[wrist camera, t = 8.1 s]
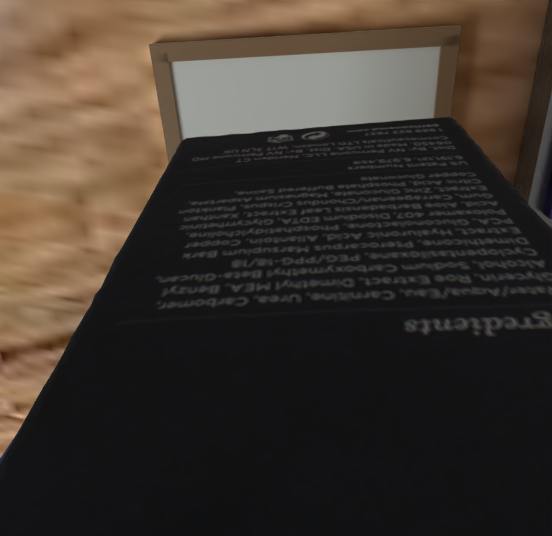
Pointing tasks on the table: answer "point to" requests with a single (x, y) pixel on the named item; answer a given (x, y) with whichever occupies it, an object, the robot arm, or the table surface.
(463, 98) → the table surface
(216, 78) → the card
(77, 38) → the table surface
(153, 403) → the box
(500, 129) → the table surface
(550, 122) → the ink pad
